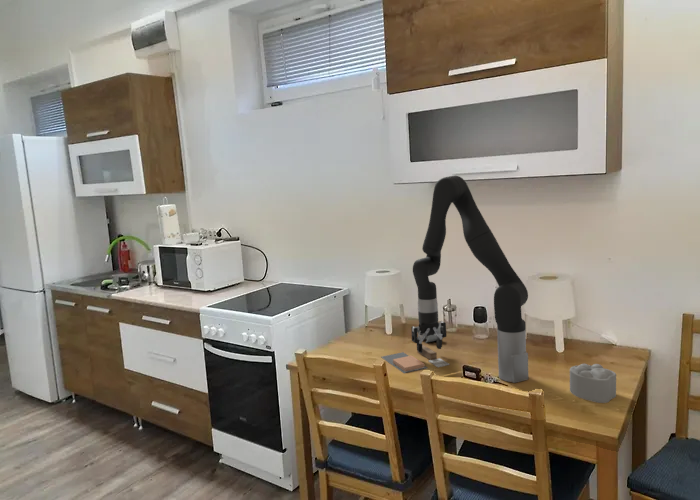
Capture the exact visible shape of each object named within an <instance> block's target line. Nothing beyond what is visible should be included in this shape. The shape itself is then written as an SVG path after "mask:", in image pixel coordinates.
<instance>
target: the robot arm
mask: <svg viewBox="0 0 700 500" xmlns="http://www.w3.org/2000/svg"><path fill="white" fill-rule="evenodd" d="M431 202H432V203H431V209H430V210H431V211H430V216H429V223H428V227H427V230H426V233H425V237H424V239H423V240H424V241H423V244H422V251H423V253H424V254H426V257H424V258H418V259H416V260H415V261H414V263H413V265H412V275H413V278H414V281H415V284H416V288H417V313H418V314H417V315H418V316H417V317H418V326H414V325H413V326H411V329H410V330H411V342H413V343H415V344H416V350H417V351H418V352H420V353H422V352H423V351H422V345H423V342H424V340H423V339H425V337H426V336H430V335H435V336H436V337H437V339H436V341H435V342H436V349H438V350H441V349H442V347H443V339H444V338H447V324H446V322H445V321H443V320H440V321H439V308H438V306H439V303H438V299H437V298H438V296H437V294H438V293H437V285H436V283H435V282H433V281H430V279H429V276H433V275H435V274H437V273H438V271H439V270H440V267H441V261H442V259H441V257H442V249H443V246H444V243H445V240H446V235H447V227H446V223H447V221H446V220H447V214H448V212H449V208H450V207H451V205H452V203H453V206H454V207H455V209H456V210H457V212H458V214H459V215H460V218H461V224H462V230H463V231H462V232H463V237H464V240H465V242H466V244H467V246H468V247H469V250H470V251H471V253H472V255H473V256H474V257H475V258H476V259H477V260H478V262H480V263H481V264H482V265H483V266H484V267H485V268H486V269H487V270H488V271H489V272H490V274H491V275H492V276H493V277H494V279H495V282H496V283H497V285H498V287H497V288H496V289H495V291H494V294H493V308H494V309H493V311H494V321H495V323H496V326H497V327H496V328H497V329H496V330H497V365H498V378H499V379H500V380H502V381H505V382H510V383H513V384H515V383H520V382H523V381H528V380H529V353H528V352H527V348H526V347H527V346H526V345H527V335H526V333H527V332H526V331H527V330H526V329H527V328H526V321H525V319H524V318H522V307H523V306H524V305H525V304H526V303H527V301H528V298H529V292H528V289H527V287H526V285H525V284H524V283H523V281H522V279H521V278H520V277H519V276H518V274H517V272H516V271H515V270H514V268H513V267H512V265H511V264H510V262H509V260H508V258H507V257H506V255H505V252H504V251H503V250H502V248H501V246H500V244H499V242H498V241H497V238H496V236H495V235H494V233H493V231H492V229H491V228H490V227H489V225H488V223H487V222H486V220H485V218H484V216H483V215H482V212H481V211H480V209H479V208H478V206H477V203H476V201H475V199H474V197H473V194H472V192H471V189H470V187H469V186H468V183H467V182H466V181H465V179H464V178H463V177H461V176H460V175H451V176H445V177H444V176H443V177H442V178H439V179H438V180H437V182H436V183H435V185H434V189H433V194H432V201H431ZM438 327H440V333H441V334H440V333H439V332H438V330H437V329H438ZM418 330H420V332H419V334H418ZM422 334H423V335H422ZM418 352H417V353H418Z"/></svg>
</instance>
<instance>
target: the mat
mask: <svg viewBox="0 0 700 500" xmlns="http://www.w3.org/2000/svg"><path fill="white" fill-rule="evenodd" d="M407 356H409V354H407V353H405V352H404V351H402V352H398V353H397V352H396V353H393V354H389V355H387V354H386V355H383V356H380V358H382V359H383V360H384V361H386V362H387V363H388V364H390V365H391V366H393V367H394V368H396V369H397V370H398V371H400V372H401V373H403V374H408V373H412V372H418V371H422V370H426V369H429V367H428V366H426V365H424V366H425V368H421V369H416V370H412V371H407V372H405V371H403V370H402V369H400V368H399V367H397V366H396V365H395V364H393V359H397V358H402V357H407Z"/></svg>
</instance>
